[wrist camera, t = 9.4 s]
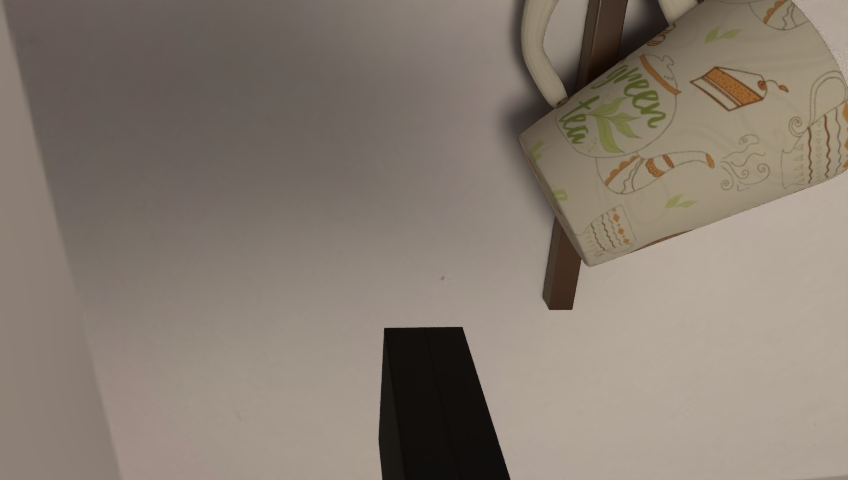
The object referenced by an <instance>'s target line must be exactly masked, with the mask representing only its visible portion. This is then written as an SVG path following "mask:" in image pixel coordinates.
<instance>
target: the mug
mask: <svg viewBox="0 0 848 480" xmlns="http://www.w3.org/2000/svg"><path fill="white" fill-rule="evenodd" d="M557 2H558V0H526V2H525V7H524V12H523V18H522V28H521V47H522V53H523V57H524V60H525V63H526V66H527V68H528V70H529V72H530V74H531V76H532V78H533V80H534V82H535V84H536V85H537V87H538V89H539V90H540V92H541V93H542V95H543V96H544V98H545V99H546V100H547V102H548V103H549V104H550V105H551V106H552V107H553V108H554V110H552V111H551V112H549V113H548V114H547V115H545V116H544V117H542V118H541V119H540V120H538V121H537V122H536V123H534V124H533V125H531V126H530V127H529V128H527V129H526V130H525V131H524V132H522V133H521V134H520V135H519V138H518V139H519V142H520V145H521V148H522V150H523V152H524V154H525V157H526V159H527V161H528V163H529V165H530V167H531V169H532V171H533V173H534V175H535V177H536V179H537V181H538V183H539V185H540V187H541V189H542V191H543V193H544V194H545V196H546V198H547V200H548V202H549V204H550V206H551V208H552V209H553V211H554V213H555V215H556V217H557V218H558V220H559V222H560V224H561V226H562V227H563V229H564V231H565V233H566V234H567V236H568V238H569V239H570V241H571V243H572V245H573V246H574V248H575V249H576V251H577V253H578V254H579V256H580V257H581V259H582V260H583V261H584V263H585V264H586V265H587V266H588V267H591V266H595V265H598V264H601V263H604V262H607V261H610V260H613V259H615V258H618V257H621V256H624V255H626V254H629V253H632V252H634V251H637V250H640V249H643V248H645V247H648V246H651V245H653V244H656V243H659V242H662V241H664V240H667V239H670V238H673V237H675V236H678V235H681V234H683V233H686V232H689V231H692V230H694V229H697V228H700V227H702V226H705V225H708V224H711V223H713V222H716V221H719V220H722V219H724V218H727V217H730V216H732V215H735V214H738V213H741V212H743V211H746V210H749V209H752V208H754V207H757V206H760V205H762V204H765V203H768V202H771V201H773V200H776V199H779V198H781V197H784V196H787V195H790V194H792V193H795V192H798V191H801V190H803V189H806V188H809V187H811V186H814V185H817V184H820V183H822V182H824V181H827V180H829V179H832V178H834V177H836V176H838V175H840V174H841V173H843V172H844V171H845V170H847V169H848V87H847V85H846V82H845V80H844V77H843V75H842V73H841V71H840V68H839V66H838V64H837V62H836V60H835V58H834V57H833V55H832V53H831V51H830V49H829V48H828V46H827V45H826V43H825V41H824V40H823V38H822V37H821V35H820V34H819V32H818V31H817V30H816V28H815V27H814V25H813V24H812V23H811V22H810V20H809V19H808V18H807V17H806V15H805V14H804V13H803V12H802V11H801V10H800V9H799V8H798V7H797V6H796V5H795V4H794V3H793V2H792V1H791V0H705V1H704V2H702V3H701V4H698V2H697V0H658V2H659V4H660V6H661V9H662V11H663V13H664V16H665V18H666V20H667V22H668V24H669V27H667V28H666V29H665V30H663V31H662V32H661V33H659V34H658V35H657V36H655V37H654V38H652V39H651V40H650V41H648V42H647V43H645V44H644V45H643V46H641V47H640V48H638V49H637V50H636V51H634V52H633V53H632V54H630V55H629V56H627V57H626V58H625V59H623V60H622V61H620V62H619V63H618V64H616V65H615V66H613V67H612V68H611V69H609V70H608V71H606V72H605V73H604V74H602V75H601V76H600V77H598V78H597V79H595V80H594V81H593V82H591V83H590V84H588V85H587V86H586V87H584V88H583V89H581V90H580V91H579V92H577V93H576V94H574V95H573V96H572V97H570V98H569V99H568V97H567V94H566V91H565V88H564V86H563V84H562V82H561V80H560V78H559V76H558V75H557V73H556V71H555V69H554V68H553V66H552V64H551V62H550V61H549V59H548V57H547V56H546V54H545V52H544V49H543V39H544V35H545V30H546V27H547V24H548V21H549V18H550V16H551V13H552V11H553V9H554V7H555V5H556V4H557Z"/></svg>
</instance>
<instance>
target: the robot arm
mask: <svg viewBox="0 0 848 480" xmlns="http://www.w3.org/2000/svg"><path fill="white" fill-rule="evenodd" d="M379 450H380V460H381V470H382V480H510V477H509V473H508V470H507V467H506V464H505V461H504V457H503V454H502V451H501V448H500V445H499V442H498V438H497V435H496V432H495V429H494V426H493V423H492V419H491V416H490V413H489V410H488V407H487V404H486V400H485V397H484V394H483V391H482V388H481V384H480V381H479V378H478V375H477V372H476V369H475V365H474V362H473V359H472V356H471V353H470V350H469V346H468V343H467V340H466V337H465V334H464V331H463V327H419V328H384V343H383V362H382V382H381V402H380V421H379Z"/></svg>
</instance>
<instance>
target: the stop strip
mask: <svg viewBox="0 0 848 480" xmlns="http://www.w3.org/2000/svg"><path fill="white" fill-rule="evenodd" d="M627 2H628V0H590V1H589V7H588V14H587V20H586V26H585V33H584V39H583V45H582V52H581V58H580V65H579V71H578V77H577V84H576V90H575V94H576V93H577V92H579V91H580V90H581V89H583V88H584V87H586V86H587V85H588V84H590V83H591V82H593V81H594V80H595V79H597V78H598V77H600V76H601V75H602V74H604V73H605V72H606V71H608V70H609V69H611V68H612V67H613V66H615V65H616V63H617V58H618V52H619V46H620V41H621V35H622V30H623V24H624V19H625V13H626V7H627ZM580 264H581V257H580V256H579V254H578V253H577V251H576V249H575V248H574V246H573V245H572V243H571V241H570V239H569V238H568V236H567V234H566V233H565V231H564V229H563V227H562V226H561V224H560V222H559V220H558V218H557V217H555V223H554V229H553V236H552V242H551V249H550V255H549V261H548V268H547V274H546V280H545V287H544V293H543V299H544V301H545V303H546V305H547V307H548V309H549V310H572V309H573V303H574V297H575V292H576V286H577V281H578V275H579V270H580Z"/></svg>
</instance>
